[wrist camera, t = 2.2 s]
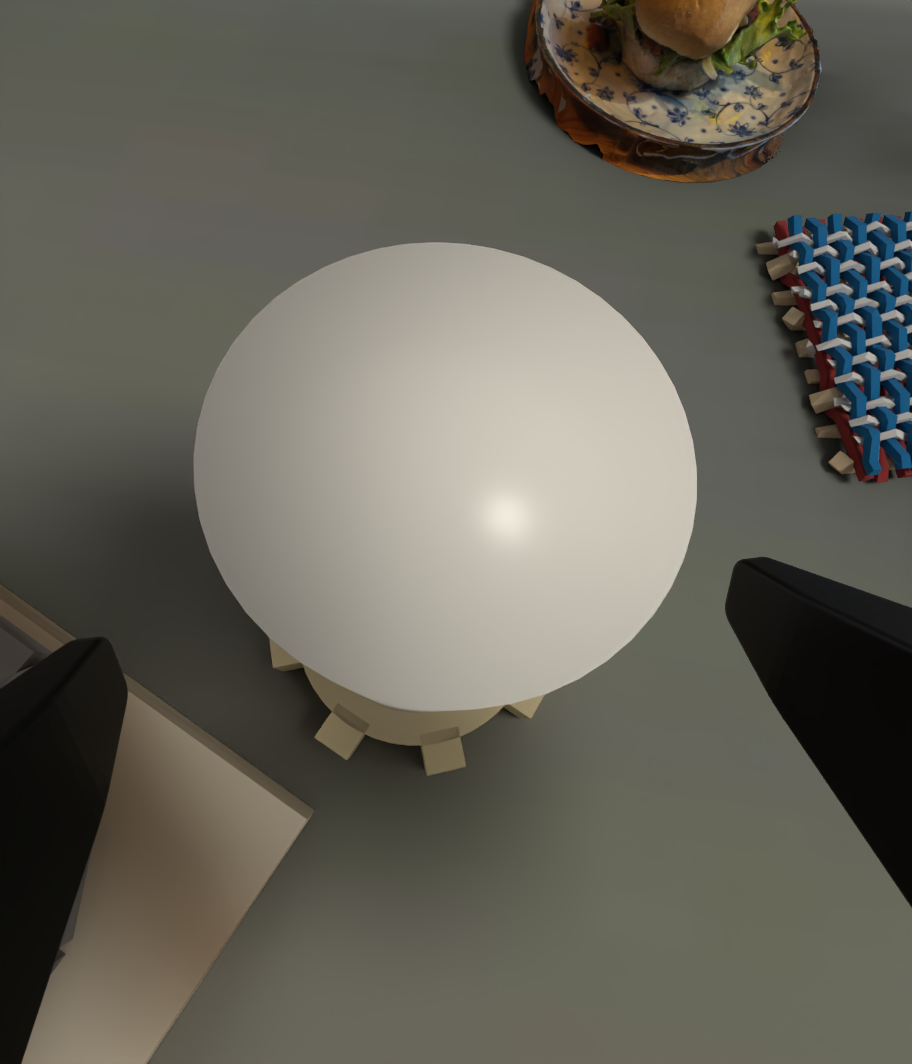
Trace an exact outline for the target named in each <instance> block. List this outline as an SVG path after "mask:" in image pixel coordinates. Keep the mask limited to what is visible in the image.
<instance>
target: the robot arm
mask: <svg viewBox="0 0 912 1064" xmlns="http://www.w3.org/2000/svg"><path fill="white" fill-rule="evenodd" d="M725 611H726V616H727V619H728V621H729V623H730V625H731V627H732V629H733V631H734V632H735V634H736V636H737V638H738V640H739V642H740V644H741V645H742V647H743V649H744V651H745V653H746V655H747V657H748V658H749V660H750V662H751V664H752V666H753V668H754V670H755V671H756V673H757V675H758V677H759V679H760V681H761V683H762V684H763V686H764V688H765V690H766V692H767V693H768V695H769V697H770V699H771V700H772V702H773V704H774V705H775V707H776V708H777V710H778V711H779V713H780V715H781V716H782V718H783V719H784V721H785V722H786V724H787V725H788V726H789V728H790V729H791V731H792V732H793V734H794V735H795V737H796V738H797V740H798V741H799V743H800V744H801V746H802V747H803V749H804V750H805V751H806V753H807V754H808V756H809V757H810V759H811V760H812V762H813V763H814V765H815V766H816V768H817V769H818V771H819V772H820V774H821V775H822V776H823V778H824V779H825V781H826V782H827V784H828V785H829V787H830V788H831V790H832V791H833V793H834V794H835V796H836V797H837V799H838V800H839V801H840V803H841V804H842V806H843V807H844V809H845V810H846V812H847V813H848V815H849V816H850V818H851V819H852V821H853V822H854V824H855V825H856V826H857V828H858V829H859V831H860V832H861V834H862V835H863V837H864V838H865V840H866V841H867V843H868V844H869V846H870V847H871V849H872V850H873V851H874V853H875V854H876V856H877V857H878V859H879V860H880V862H881V863H882V865H883V866H884V868H885V869H886V871H887V872H888V874H889V875H890V876H891V878H892V879H893V881H894V882H895V884H896V885H897V887H898V888H899V890H900V891H901V893H902V894H903V896H904V897H905V899H906V900H907V901H908V903H909V904H910V906H911V907H912V608H910V607H908V606H905V605H902V604H899V603H896V602H893V601H890V600H888V599H885V598H882V597H879V596H876V595H873V594H870V593H868V592H865V591H862V590H859V589H856V588H853V587H850V586H848V585H845V584H842V583H839V582H836V581H833V580H831V579H828V578H825V577H822V576H819V575H816V574H813V573H811V572H808V571H805V570H802V569H799V568H796V567H793V566H791V565H788V564H785V563H782V562H779V561H776V560H773V559H771V558H767V557H757V558H749V559H742V560H740V561H738V562H737V563H736V564H735V566H734V568H733V572H732V576H731V581H730V585H729V589H728V594H727V598H726V603H725ZM127 699H128V688H127V683H126V680H125V677H124V675H123V672H122V670H121V667H120V665H119V662H118V660H117V657H116V655H115V652H114V649H113V647H112V645H111V643H110V642H109V640H108V639H106V638H104V637H92V638H84V639H75V640H72V641H69V642H68V643H66V644H65V645H63V646H62V647H60V648H59V649H57V650H56V651H54V652H53V653H51V654H50V655H49V656H47V657H46V658H44V659H43V660H41V661H40V662H38V663H37V664H35V665H34V666H32V667H31V668H29V669H28V670H27V671H25V672H24V673H22V674H21V675H19V676H18V677H16V678H15V679H13V680H12V681H10V682H9V683H8V684H6V685H5V686H3V687H2V688H0V1064H22V1061H23V1057H24V1054H25V1051H26V1048H27V1045H28V1042H29V1039H30V1036H31V1033H32V1030H33V1027H34V1024H35V1021H36V1018H37V1015H38V1012H39V1009H40V1006H41V1003H42V999H43V996H44V993H45V990H46V987H47V984H48V981H49V978H50V975H51V972H52V969H53V966H54V963H55V960H56V957H57V954H58V951H59V948H60V945H61V941H62V938H63V935H64V932H65V929H66V926H67V923H68V920H69V917H70V914H71V911H72V908H73V905H74V902H75V899H76V896H77V893H78V890H79V887H80V883H81V880H82V877H83V874H84V871H85V868H86V865H87V862H88V859H89V856H90V853H91V850H92V847H93V844H94V841H95V838H96V835H97V832H98V829H99V825H100V822H101V819H102V816H103V812H104V809H105V806H106V801H107V797H108V793H109V789H110V784H111V779H112V774H113V769H114V764H115V759H116V754H117V749H118V744H119V739H120V734H121V730H122V725H123V720H124V715H125V710H126V705H127Z"/></svg>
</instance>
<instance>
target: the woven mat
mask: <svg viewBox="0 0 912 1064" xmlns="http://www.w3.org/2000/svg"><path fill="white" fill-rule="evenodd" d="M880 215H881V213H871V214H866V218H865V222H863V219H858V218H856V217H855V216H851V217H845V220H844V224H843V225H842V214H832V215H831V216H829V217H828V227H827V226H826V222H825V220H818V219H816V218H806V222H805V226H804V227H805V228H806V229H808V230H809V231H811V232H812V233H813V234H810V235H808V232H807V230H806V229H805V228H804V227H803V226H802V215H794V216H792V217H790V218H788V227H787V223H786V220H785V221H777V222H776V224H775V225H774V230H775V234H776V238H774V237H773V242H766V243H760V244H755V246H756V249H757V252H758V254H772V255H778V258H775V259H773V260H771V261H769V262H766V265H767V269H768V272H769V274H770V276H771V278H772V280H775V279H778V278H780V282H781V283H783V284H784V285H786V286H788V287H789V288H791V290H788V291H781V292H773V293H771V296H772V299H773V302H774V305H785V306H788V305H798V308H799V310H798V309H796V308H794V307H792V308H791V309H790V310H789V311H788V312H787V313H786V314H785V316H784V317H783V318H782V320H783V322H784V323H785V325H786V326H787V327H788V328H789V329H790V330H797V331H803V330H806V333H807V336H808V338H807V339H804V340H801V341H798V342H796V343H795V346H796V349H797V352H798V355H799V357H811V358H815V360H816V363H817V366H818V369H810V370H806V371H804V373H805V376H806V379H807V382H808V384H819V392H817V393H814V394H811V395H809V397H810V401H811V405H812V407H813V409H814V411H815V413H816V414H817V413H820V412H823V411H824V412H825V415H827V416H828V417H830V418H831V419H832V420H834V421H835V423H836V424H834V425H829V426H823V427H818V428H815V431H816V434H817V437H818V438H842V440H843V443H844V445H845V448H846V450H847V453H848V455H849V456H848V455H846V454H845V453H843V452H842V451H839V452H838V453H837V454H836V455H835V456H834V457H833V458H832V459H831V460H830V461H829V465H830V466H831V467H832V468H834V469H835V470H836V471H838V472H839V473H841V474H849V473H856V475H857V478H858V480H859V481H868V480H870V479H872V478H874V481H876V482H877V483H880V482H887V481H888V473H889V470H894V469H895V470H896V474H897V477H898V478H903V477H909V476H912V212H905V216H904V219H903V220H901V217H900V216H894V215H884V218H883V220H882V217H880ZM788 230H789V231H788ZM886 279H887V280H888V281H887V280H886ZM802 280H803V281H804V282H805V283H806V284H807V285H808V286H805V284H804V282H803V281H802ZM876 301H877V302H876ZM863 327H866V329H865V331H864V328H863ZM838 328H839V329H838ZM837 329H838V330H837ZM886 331H887V332H889V333H886ZM834 384H835V385H836V386H837V387H834ZM904 386H905V387H906V389H905V388H904ZM909 408H911V409H910V410H909ZM846 411H848V412H849V413H850V416H849V415H848V414H847V413H846ZM876 417H877V418H878V419H877V418H876ZM905 444H906V445H907V447H906V446H905ZM862 446H863V447H862Z"/></svg>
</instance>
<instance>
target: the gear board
mask: <svg viewBox="0 0 912 1064" xmlns="http://www.w3.org/2000/svg"><path fill="white" fill-rule="evenodd" d="M75 639H76V638H75V637H73V636H72V635H70V634H69V633H68V632H66V631H65V630H63V629H62V628H61V627H59V626H58V625H56V624H55V623H54V622H52V621H51V620H49V619H48V618H47V617H45V616H44V615H42V614H41V613H40V612H38V611H37V610H36V609H34V608H33V607H31V606H30V605H29V604H27V603H26V602H24V601H23V600H22V599H20V598H19V597H17V596H16V595H15V594H13V593H12V592H10V591H9V590H8V589H6V588H5V587H3V586H2V585H1V584H0V688H2V687H3V686H5V685H6V684H8V683H9V682H10V681H12V680H13V679H15V678H16V677H18V676H19V675H21V674H22V673H24V672H25V671H27V670H28V669H29V668H31V667H32V666H34V665H35V664H37V663H38V662H40V661H41V660H43V659H44V658H46V657H47V656H49V655H50V654H51V653H53V652H54V651H56V650H57V649H59V648H60V647H62V646H63V645H65V644H66V643H68V642H69V641H72V640H75ZM123 675H124V677H125V680H126V683H127V688H128V699H127V705H126V710H125V715H124V720H123V725H122V730H121V734H120V739H119V744H118V749H117V754H116V759H115V764H114V769H113V774H112V779H111V784H110V789H109V793H108V797H107V801H106V806H105V809H104V812H103V816H102V819H101V822H100V825H99V829H98V832H97V835H96V838H95V841H94V844H93V847H92V850H91V853H90V856H89V859H88V862H87V865H86V868H85V871H84V874H83V877H82V880H81V883H80V887H79V890H78V893H77V896H76V899H75V902H74V905H73V908H72V911H71V914H70V917H69V920H68V923H67V926H66V929H65V932H64V935H63V938H62V941H61V945H60V948H59V951H58V954H57V957H56V960H55V963H54V966H53V969H52V972H51V975H50V978H49V981H48V984H47V987H46V990H45V993H44V996H43V999H42V1003H41V1006H40V1009H39V1012H38V1015H37V1018H36V1021H35V1024H34V1027H33V1030H32V1033H31V1036H30V1039H29V1042H28V1045H27V1048H26V1051H25V1054H24V1057H23V1061H22V1064H147V1063H148V1061H149V1060H150V1058H151V1057H152V1055H153V1054H154V1052H155V1051H156V1049H157V1048H158V1046H159V1045H160V1043H161V1042H162V1040H163V1039H164V1037H165V1036H166V1034H167V1033H168V1031H169V1030H170V1028H171V1027H172V1025H173V1024H174V1022H175V1020H176V1019H177V1017H178V1016H179V1014H180V1013H181V1011H182V1010H183V1008H184V1007H185V1005H186V1004H187V1002H188V1001H189V999H190V998H191V996H192V995H193V993H194V992H195V990H196V989H197V987H198V986H199V984H200V983H201V981H202V980H203V978H204V977H205V975H206V974H207V972H208V971H209V969H210V968H211V966H212V965H213V963H214V962H215V960H216V959H217V957H218V956H219V954H220V953H221V951H222V950H223V948H224V947H225V945H226V944H227V942H228V941H229V939H230V938H231V936H232V935H233V933H234V932H235V930H236V929H237V927H238V926H239V924H240V923H241V921H242V920H243V918H244V917H245V915H246V914H247V912H248V911H249V909H250V908H251V906H252V905H253V903H254V902H255V900H256V899H257V897H258V896H259V894H260V893H261V891H262V890H263V888H264V887H265V885H266V884H267V882H268V881H269V879H270V878H271V876H272V875H273V873H274V872H275V870H276V869H277V867H278V866H279V864H280V863H281V861H282V860H283V858H284V857H285V855H286V854H287V852H288V850H289V849H290V847H291V846H292V844H293V843H294V841H295V840H296V838H297V837H298V835H299V834H300V832H301V831H302V829H303V828H304V826H305V825H306V823H307V822H308V820H309V819H310V817H311V816H312V814H313V813H314V811H315V810H314V809H313V808H311V807H310V806H309V805H307V804H306V803H304V802H303V801H302V800H300V799H299V798H297V797H296V796H295V795H293V794H292V793H290V792H289V791H288V790H286V789H285V788H284V787H282V786H281V785H279V784H278V783H277V782H275V781H274V780H272V779H271V778H270V777H268V776H267V775H265V774H264V773H263V772H261V771H260V770H258V769H257V768H256V767H254V766H253V765H251V764H250V763H249V762H247V761H246V760H245V759H243V758H242V757H240V756H239V755H238V754H236V753H235V752H233V751H232V750H231V749H229V748H228V747H226V746H225V745H224V744H222V743H221V742H219V741H218V740H217V739H215V738H214V737H212V736H211V735H210V734H208V733H207V732H205V731H204V730H203V729H201V728H200V727H199V726H197V725H196V724H194V723H193V722H192V721H190V720H189V719H187V718H186V717H185V716H183V715H182V714H180V713H179V712H178V711H176V710H175V709H173V708H172V707H171V706H169V705H168V704H166V703H165V702H164V701H162V700H161V699H160V698H158V697H157V696H155V695H154V694H153V693H151V692H150V691H148V690H147V689H146V688H144V687H143V686H141V685H140V684H139V683H137V682H136V681H134V680H133V679H132V678H130V677H129V676H127V675H126V674H125V673H123Z"/></svg>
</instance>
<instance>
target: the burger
mask: <svg viewBox="0 0 912 1064" xmlns="http://www.w3.org/2000/svg"><path fill="white" fill-rule="evenodd" d="M796 2H797V0H534V1H533V4H532V8H531V12H530V17H529V24H528V31H527V38H526V46H525V57H524V60H525V62H526V67H527V65H528V78H529V81H531V80H534V79H535V80H536V83H537V84H538V87H539V92H540V95H542V94H543V93H546V95H547V97H548V99H549V101H550V102H551V103H552V104H553V106H554V109H555V118H556V122H557V125H558V126H559V127H560V128H561V130H565V131H567V132H568V133H569V135H570V136H571V137H572V139H573V141H575V142H577V143H580V144H583V145H589V144H598V145H599V148H600V150H601V152H602V153H603V158H602V159H603V160H604V159H606V160H608V161H607V162H609V161H611V162H609V163H612V164H613V165H615V166H618V167H619V168H622V169H624V170H625V169H626V171H630V172H633V173H636V174H640V175H644V176H647V177H651V178H655V179H661V180H670V181H678V182H714V181H719V180H724V179H730V178H734V177H738V176H741V175H743V174H746V173H748V172H751V171H753V170H755V169H758V168H760V167H761V166H762V165H764V164H766V163H767V162H768V161H767V160H770V158H768V155H769V156H771V155H773V153H774V152H775V150H778V149H779V146H781V145H780V143H781V140H779V139H778V138H780V136H781V135H782V134H784V132H785V131H786V130H787V129H788V128H789V127H790V126H792V125H794V124H796V122H797V121H798V120H799V119H800V118H801V116H803V115H804V114H805V112H806V111H807V109H808V107H809V106H810V104H811V103H812V101H813V99H814V97H815V95H816V90H817V86H818V82H819V80H818V79H819V77H820V73H821V71H822V70H821V68H822V67H821V65H820V58H819V57H820V54H819V46H817V40H816V39H814V36H813V30H812V29H811V28H810V26H809V25H808V24H807V22H806V20H805V18H803V16H802V15H801V14H800V13H799V11H798V10H797V8H796V6H795V5H794V4H796ZM782 136H783V135H782ZM781 138H782V139H783V137H781ZM777 146H778V147H777ZM773 149H774V150H773ZM764 151H766V153H765V152H764ZM768 153H769V154H768ZM771 153H772V154H771ZM779 153H780V151H779ZM775 154H778V153H775ZM764 155H765V156H766V157H767V158H768V159H767V158H766V157H765V156H764ZM776 156H777V155H776ZM773 158H774V157H773V156H772V157H771V159H773ZM764 160H765V162H763V161H764ZM614 162H615V164H614ZM619 164H621V165H619ZM746 164H747V165H746ZM757 164H758V165H757ZM625 165H627V166H625ZM662 175H664V176H662Z"/></svg>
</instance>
